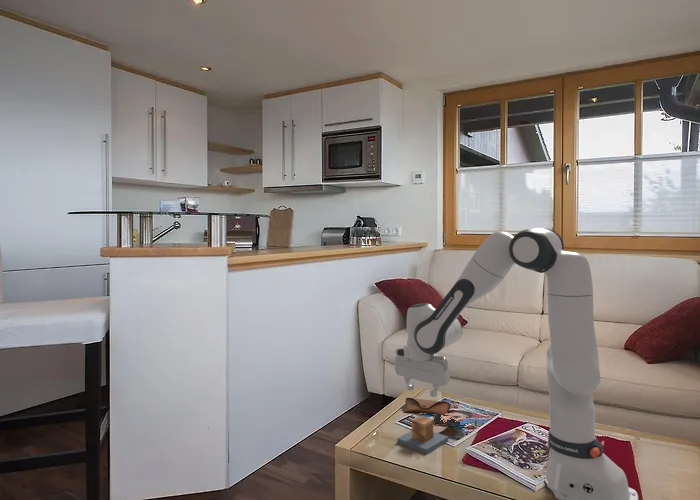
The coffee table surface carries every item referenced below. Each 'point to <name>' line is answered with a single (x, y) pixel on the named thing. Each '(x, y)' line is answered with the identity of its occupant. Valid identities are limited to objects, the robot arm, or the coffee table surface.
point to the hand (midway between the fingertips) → (422, 393)
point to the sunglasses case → (426, 406)
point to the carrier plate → (423, 446)
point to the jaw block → (422, 428)
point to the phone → (451, 422)
